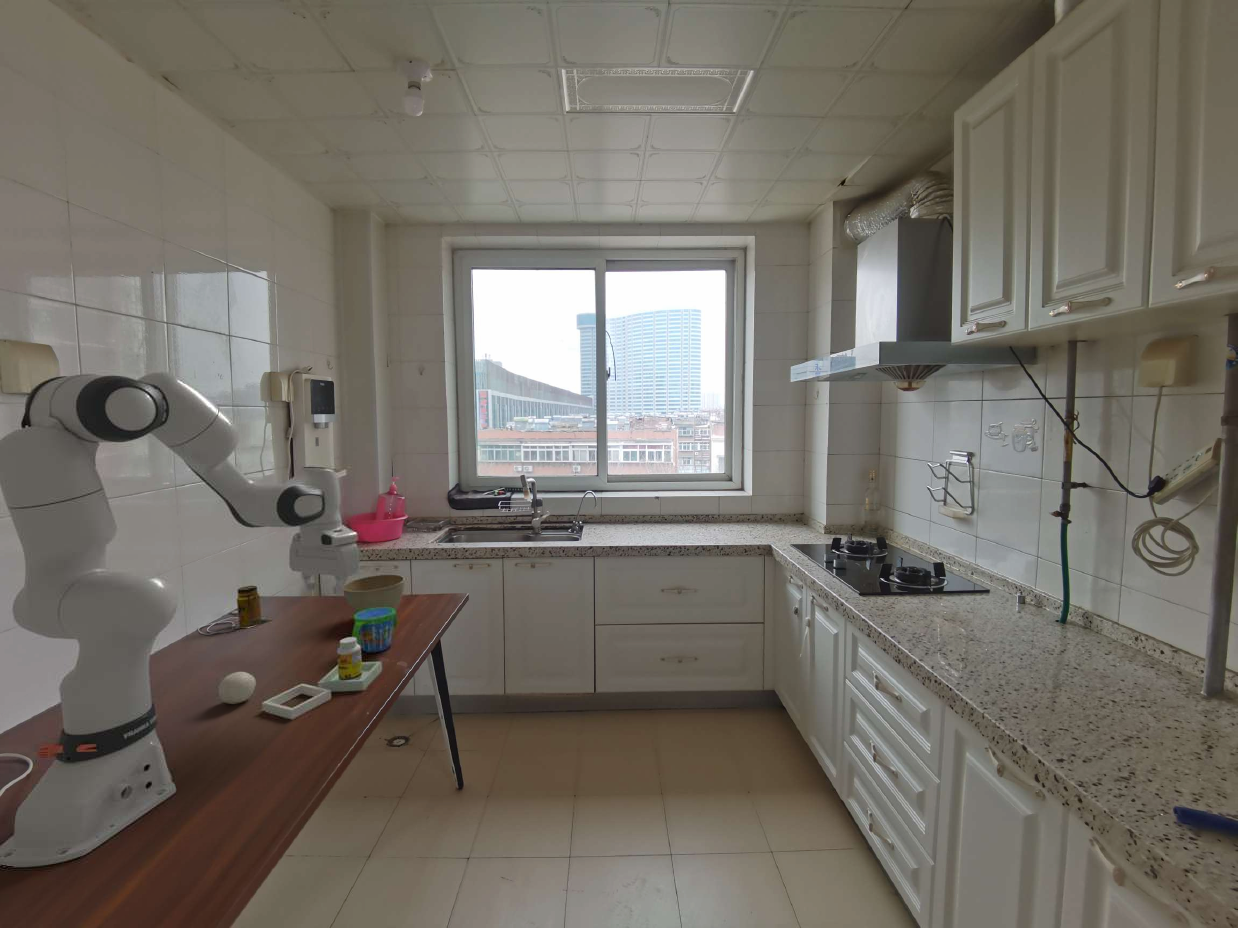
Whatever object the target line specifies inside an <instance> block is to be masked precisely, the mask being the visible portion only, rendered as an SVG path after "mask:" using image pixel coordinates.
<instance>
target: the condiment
mask: <svg viewBox="0 0 1238 928" xmlns="http://www.w3.org/2000/svg"><path fill="white" fill-rule="evenodd" d="M236 603H237V613H238V614H237V616H238V624H236V625H233V627H235V628H241V629H243V628H244V629H251V628H254V627H256V626H259V625H262V624H263V623H267V622H270V621H271V620H273V618H267V617H266V618H265V617H262V613H261V612H262V611H261V600H260V594H259V592H258V587H257V585H249V586H248V585H247V586H242V587H240V588H238V589H237V598H236Z"/></svg>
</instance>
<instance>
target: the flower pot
mask: <svg viewBox="0 0 1238 928" xmlns="http://www.w3.org/2000/svg"><path fill="white" fill-rule="evenodd" d="M404 588H405V577H404V576H402V575H398V574H377V575H370V576H365V577H361V578H356V579H354V580H351V581H349V582H347V583H345V584H344V593H343V596H344V600H345V602H346V603H347V605H348V607H349V609H350V610H351V612H352V613H353V615H355V614H357V613H358V612H360V611H363V610H367V609H371V608H378V607H389V608H393V609H394V610H395V612H396V610H397V609H398V607H399V605H400V603H401V600H402V598H403V594H404Z"/></svg>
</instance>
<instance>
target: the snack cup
mask: <svg viewBox="0 0 1238 928" xmlns="http://www.w3.org/2000/svg"><path fill="white" fill-rule="evenodd" d="M398 620H399V619H398V617H397V612H396V611H395V610H394V609H393V608H389V607H378V608H371V609H367V610H363V611H360V612H358V613H357V614H353V621H354V625H353V629H352V634H351V635H352V636H351V637H355V638H356V639H357V644H359V645H360V647H361V650H362V651H364V652H366V653H377V652H378V653H379V652H383V651H385V650H387V649H388V648H390V647H391V646H392V640H393V630H394V628H397V627H398V625H399V621H398Z"/></svg>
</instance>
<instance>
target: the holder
mask: <svg viewBox="0 0 1238 928" xmlns="http://www.w3.org/2000/svg"><path fill="white" fill-rule="evenodd" d="M300 694H301V695H306V696H310V697H311V698H309V699H307V700H305V701H303V702H301V703H299V704H297V705H295V706H294V707H290V706H286V705H282V704H284V703H286V702H288V701H290V700H293V699H294V697H295V698H296V696H297V697H299V696H301V695H300ZM298 695H299V696H298ZM292 698H293V699H292ZM330 700H332V692H331V690H328V689H324V688H319V687H318V686H314V685H310V684H306V683H300V684H298V685H296V686H294V687H292V688H290V689H288V690H286V691H283V692H281V693H280V694H277V695H275V696H273V697H271V698H269V699H267V700H265V701H263V702H261V706H262V712H263V711H265V712H264V713H267V712H268V714H271V715H275V716H277V717H278V716H279V717H282V718H285V719H289V720H294V719H297V718H298V717H300V716H301V715H304V714H305V713H308V712H309V711H311V710H313V709H314V708H316V707H318V706H320V705H323V704H324V703H326V702H327V701H330Z"/></svg>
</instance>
